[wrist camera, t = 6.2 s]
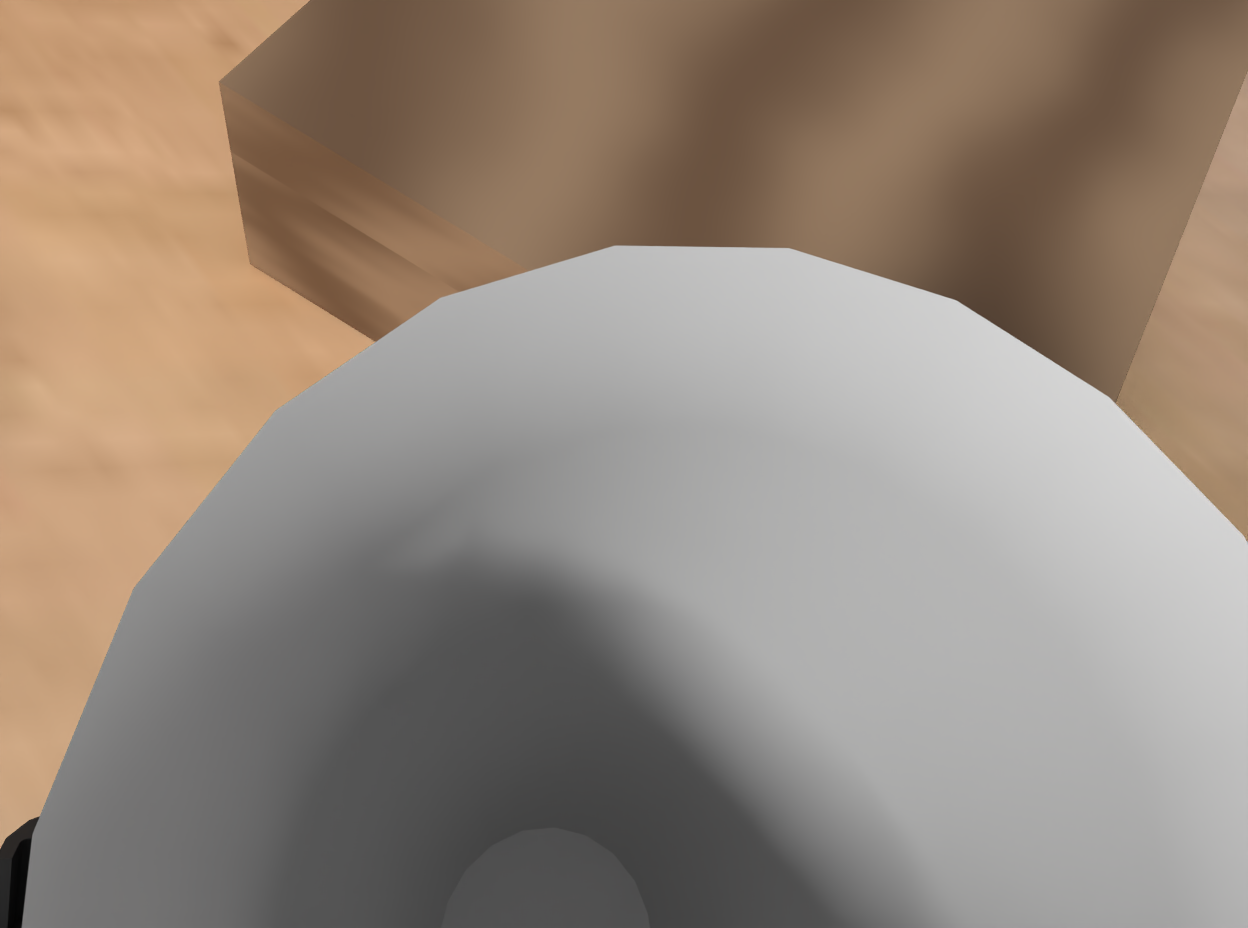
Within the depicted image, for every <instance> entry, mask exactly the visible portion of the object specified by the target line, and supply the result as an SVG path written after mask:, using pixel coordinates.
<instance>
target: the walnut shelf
mask: <svg viewBox="0 0 1248 928" xmlns="http://www.w3.org/2000/svg"><path fill="white" fill-rule="evenodd" d="M1247 71H1248V0H310V1H309V2H308V3H307V4H306V5H304V6H303V7H302V8H301V9H300V10H299V11H298V12H297V13H295V14H294V15H293V16H292V17H291V18H290V19H289V20H288V21H287V22H285V23H284V24H283V25H282V26H281V27H280V28H279V29H278V30H276V31H275V32H274V33H273V34H272V35H271V36H270V37H269V38H267V39H266V40H265V41H264V42H263V43H262V44H261V45H260V46H258V47H257V48H256V49H255V50H254V51H253V52H252V53H251V54H250V55H248V56H247V57H246V58H245V59H244V60H243V61H242V62H241V63H239V64H238V65H237V66H236V67H235V68H234V69H233V70H232V71H230V72H229V73H228V74H227V75H226V76H225V77H224V78H223V79H221V80H220V81H219V85H220V91H221V97H222V103H223V109H224V115H225V120H226V126H227V132H228V138H229V144H230V150H231V155H232V161H233V167H234V173H235V179H236V185H237V191H238V196H239V202H240V208H241V214H242V220H243V226H244V231H245V237H246V243H247V249H248V255H249V261H250V264H251V265H253V266H254V267H256V268H258V269H259V270H261V271H262V272H264V273H266V274H267V275H269V276H271V277H272V278H274V279H275V280H277V281H279V282H280V283H282V284H283V285H285V286H287V287H288V288H290V289H292V290H293V291H295V292H296V293H298V294H300V295H301V296H303V297H304V298H306V299H308V300H309V301H311V302H313V303H314V304H316V305H317V306H319V307H321V308H322V309H324V310H325V311H327V312H329V313H330V314H332V315H334V316H335V317H337V318H338V319H340V320H342V321H343V322H345V323H346V324H348V325H350V326H351V327H353V328H355V329H356V330H358V331H359V332H361V333H363V334H364V335H366V336H367V337H369V338H371V339H372V340H374V341H376V342H377V341H378V340H379V339H381V338H382V337H384V336H385V335H387V334H388V333H390V332H391V331H393V330H394V329H396V328H397V327H398V326H400V325H401V324H403V323H404V322H406V321H407V320H409V319H410V318H412V317H413V316H415V315H416V314H418V313H419V312H420V311H422V310H423V309H425V308H426V307H428V306H429V305H431V304H432V303H434V302H435V301H437V300H438V299H439V298H441V297H445V296H448V295H451V294H455V293H458V292H461V291H465V290H468V289H471V288H475V287H478V286H482V285H485V284H488V283H492V282H495V281H498V280H502V279H505V278H508V277H512V276H515V275H518V274H522V273H525V272H528V271H532V270H535V269H538V268H542V267H545V266H548V265H552V264H555V263H558V262H562V261H565V260H568V259H572V258H575V257H578V256H582V255H585V254H588V253H592V252H595V251H598V250H602V249H605V248H608V247H612V246H678V247H745V248H790V249H794V250H797V251H800V252H803V253H806V254H810V255H813V256H816V257H819V258H822V259H826V260H829V261H832V262H835V263H838V264H842V265H845V266H848V267H851V268H854V269H858V270H861V271H864V272H867V273H870V274H874V275H877V276H880V277H883V278H886V279H890V280H893V281H896V282H899V283H902V284H906V285H909V286H912V287H915V288H918V289H922V290H925V291H928V292H931V293H934V294H938V295H941V296H944V297H947V298H950V299H954V300H956V301H958V302H960V303H961V304H963V305H964V306H966V307H967V308H969V309H971V310H972V311H974V312H975V313H977V314H979V315H980V316H982V317H983V318H985V319H986V320H988V321H990V322H991V323H993V324H994V325H996V326H997V327H999V328H1001V329H1002V330H1004V331H1005V332H1007V333H1009V334H1010V335H1012V336H1013V337H1015V338H1016V339H1018V340H1020V341H1021V342H1023V343H1024V344H1026V345H1027V346H1029V347H1031V348H1032V349H1034V350H1035V351H1037V352H1039V353H1040V354H1042V355H1043V356H1045V357H1046V358H1048V359H1050V360H1051V361H1053V362H1054V363H1056V364H1057V365H1059V366H1061V367H1062V368H1064V369H1065V370H1067V371H1069V372H1070V373H1072V374H1073V375H1075V376H1076V377H1078V378H1080V379H1081V380H1083V381H1084V382H1086V383H1087V384H1089V385H1091V386H1092V387H1094V388H1095V389H1097V390H1099V391H1100V392H1102V393H1103V394H1105V395H1106V396H1108V397H1109V398H1110V399H1111V400H1112V401H1113V402H1114V403H1116V400H1117V398H1118V395H1119V393H1120V390H1121V387H1122V385H1123V382H1124V380H1125V377H1126V375H1127V372H1128V370H1129V367H1130V365H1131V362H1132V360H1133V357H1134V355H1135V352H1136V350H1137V347H1138V345H1139V342H1140V340H1141V337H1142V335H1143V332H1144V330H1145V327H1146V325H1147V322H1148V320H1149V317H1150V315H1151V312H1152V310H1153V307H1154V305H1155V302H1156V300H1157V297H1158V295H1159V292H1160V290H1161V287H1162V285H1163V282H1164V280H1165V277H1166V275H1167V272H1168V270H1169V267H1170V265H1171V262H1172V260H1173V257H1174V255H1175V252H1176V249H1177V247H1178V244H1179V242H1180V239H1181V237H1182V234H1183V232H1184V229H1185V227H1186V224H1187V222H1188V219H1189V217H1190V214H1191V212H1192V209H1193V207H1194V204H1195V202H1196V199H1197V197H1198V194H1199V192H1200V189H1201V187H1202V184H1203V182H1204V179H1205V177H1206V174H1207V172H1208V169H1209V167H1210V164H1211V162H1212V159H1213V157H1214V154H1215V152H1216V149H1217V147H1218V144H1219V142H1220V139H1221V137H1222V134H1223V132H1224V129H1225V127H1226V124H1227V122H1228V119H1229V117H1230V114H1231V111H1232V109H1233V106H1234V104H1235V101H1236V99H1237V96H1238V94H1239V91H1240V89H1241V86H1242V84H1243V81H1244V79H1245V76H1246V74H1247Z"/></svg>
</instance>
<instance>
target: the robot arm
mask: <svg viewBox="0 0 1248 928" xmlns="http://www.w3.org/2000/svg"><path fill="white" fill-rule="evenodd" d="M39 817H40V816H39ZM39 817H36V818H34V819H31V820H29V821H28V822H26V823H25V824H24V825H22V826H21V827H20V828H19V829H17V830H16V831H15V832H13V833H12V834H11V835H9V836H8V837H7V838H6V839H5V841H4V843H3V845H2V847H1V849H0V928H22V921H23V912H24V903H25V895H26V886H27V877H28V869H29V860H30V851H31V843H32V834H33V832H34V829H35V827H36V824H37V822H38V820H39Z"/></svg>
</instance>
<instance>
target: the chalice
mask: <svg viewBox="0 0 1248 928" xmlns="http://www.w3.org/2000/svg"><path fill="white" fill-rule="evenodd" d="M22 928H1248V542H1247V541H1246V539H1245V537H1244V536H1243V535H1242V534H1241V533H1240V532H1239V531H1238V530H1237V529H1236V527H1235V526H1234V525H1233V524H1232V523H1231V522H1230V521H1229V520H1228V519H1227V518H1226V517H1225V516H1224V515H1223V514H1222V513H1221V512H1220V511H1219V510H1218V509H1217V508H1216V507H1215V506H1214V505H1213V504H1212V503H1211V502H1210V501H1209V500H1208V499H1207V498H1206V497H1205V496H1204V494H1203V493H1202V492H1201V491H1200V490H1199V489H1198V488H1197V487H1196V486H1195V485H1194V484H1193V483H1192V482H1191V481H1190V480H1189V479H1188V478H1187V477H1186V476H1185V475H1184V474H1183V473H1182V472H1181V471H1180V470H1179V469H1178V468H1177V467H1176V466H1175V465H1174V464H1173V463H1172V462H1171V460H1170V459H1169V458H1168V457H1167V456H1166V455H1165V454H1164V453H1163V452H1162V451H1161V450H1160V449H1159V448H1158V447H1157V446H1156V445H1155V444H1154V443H1153V442H1152V441H1151V440H1150V439H1149V438H1148V437H1147V436H1146V435H1145V434H1144V433H1143V432H1142V431H1141V430H1140V429H1139V427H1138V426H1137V425H1136V424H1135V423H1134V422H1133V421H1132V420H1131V419H1130V418H1129V417H1128V416H1127V415H1126V414H1125V413H1124V412H1123V411H1122V410H1121V409H1120V408H1119V407H1118V406H1117V405H1116V404H1115V403H1114V402H1113V401H1112V400H1111V399H1110V398H1109V397H1108V396H1106V395H1105V394H1103V393H1102V392H1100V391H1099V390H1097V389H1095V388H1094V387H1092V386H1091V385H1089V384H1087V383H1086V382H1084V381H1083V380H1081V379H1080V378H1078V377H1076V376H1075V375H1073V374H1072V373H1070V372H1069V371H1067V370H1065V369H1064V368H1062V367H1061V366H1059V365H1057V364H1056V363H1054V362H1053V361H1051V360H1050V359H1048V358H1046V357H1045V356H1043V355H1042V354H1040V353H1039V352H1037V351H1035V350H1034V349H1032V348H1031V347H1029V346H1027V345H1026V344H1024V343H1023V342H1021V341H1020V340H1018V339H1016V338H1015V337H1013V336H1012V335H1010V334H1009V333H1007V332H1005V331H1004V330H1002V329H1001V328H999V327H997V326H996V325H994V324H993V323H991V322H990V321H988V320H986V319H985V318H983V317H982V316H980V315H979V314H977V313H975V312H974V311H972V310H971V309H969V308H967V307H966V306H964V305H963V304H961V303H960V302H958V301H956V300H954V299H950V298H947V297H944V296H941V295H938V294H934V293H931V292H928V291H925V290H922V289H918V288H915V287H912V286H909V285H906V284H902V283H899V282H896V281H893V280H890V279H886V278H883V277H880V276H877V275H874V274H870V273H867V272H864V271H861V270H858V269H854V268H851V267H848V266H845V265H842V264H838V263H835V262H832V261H829V260H826V259H822V258H819V257H816V256H813V255H810V254H806V253H803V252H800V251H797V250H794V249H790V248H745V247H678V246H612V247H608V248H605V249H602V250H598V251H595V252H592V253H588V254H585V255H582V256H578V257H575V258H572V259H568V260H565V261H562V262H558V263H555V264H552V265H548V266H545V267H542V268H538V269H535V270H532V271H528V272H525V273H522V274H518V275H515V276H512V277H508V278H505V279H502V280H498V281H495V282H492V283H488V284H485V285H482V286H478V287H475V288H471V289H468V290H465V291H461V292H458V293H455V294H451V295H448V296H445V297H441V298H439V299H438V300H437V301H435V302H434V303H432V304H431V305H429V306H428V307H426V308H425V309H423V310H422V311H420V312H419V313H418V314H416V315H415V316H413V317H412V318H410V319H409V320H407V321H406V322H404V323H403V324H401V325H400V326H398V327H397V328H396V329H394V330H393V331H391V332H390V333H388V334H387V335H385V336H384V337H382V338H381V339H379V340H378V341H377V342H375V343H374V344H372V345H371V346H369V347H368V348H366V349H365V350H363V351H362V352H360V353H359V354H358V355H356V356H355V357H353V358H352V359H350V360H349V361H347V362H346V363H344V364H343V365H341V366H340V367H339V368H337V369H336V370H334V371H333V372H331V373H330V374H328V375H327V376H325V377H324V378H322V379H321V380H320V381H318V382H317V383H315V384H314V385H312V386H311V387H309V388H308V389H306V390H305V391H303V392H302V393H300V394H299V395H298V396H296V397H295V398H293V399H292V400H290V401H289V402H287V403H286V404H284V405H283V406H281V407H280V408H279V409H277V410H276V411H275V412H274V413H273V414H272V416H271V417H270V418H269V419H268V421H267V422H266V423H265V425H264V426H263V427H262V428H261V430H260V431H259V432H258V433H257V435H256V436H255V437H254V438H253V440H252V441H251V442H250V443H249V445H248V446H247V447H246V448H245V450H244V451H243V452H242V453H241V455H240V456H239V457H238V458H237V460H236V461H235V462H234V463H233V465H232V466H231V467H230V468H229V470H228V471H227V472H226V473H225V475H224V476H223V477H222V478H221V480H220V481H219V482H218V483H217V485H216V486H215V487H214V488H213V490H212V491H211V492H210V493H209V495H208V496H207V497H206V498H205V500H204V501H203V502H202V503H201V505H200V506H199V507H198V508H197V510H196V511H195V512H194V514H193V515H192V516H191V517H190V519H189V520H188V521H187V522H186V524H185V525H184V526H183V527H182V529H181V530H180V531H179V532H178V534H177V535H176V536H175V537H174V539H173V540H172V541H171V542H170V544H169V545H168V546H167V547H166V549H165V550H164V551H163V552H162V554H161V555H160V556H159V557H158V559H157V560H156V561H155V562H154V564H153V565H152V566H151V567H150V569H149V570H148V571H147V572H146V574H145V575H144V576H143V577H142V579H141V580H140V581H139V582H138V584H137V585H136V586H135V587H134V589H133V591H132V594H131V596H130V599H129V601H128V603H127V606H126V608H125V611H124V613H123V616H122V618H121V620H120V623H119V625H118V628H117V630H116V633H115V635H114V637H113V640H112V642H111V645H110V647H109V650H108V652H107V654H106V657H105V659H104V662H103V664H102V667H101V669H100V671H99V674H98V676H97V679H96V681H95V684H94V686H93V688H92V691H91V693H90V696H89V698H88V701H87V703H86V705H85V708H84V710H83V713H82V715H81V718H80V720H79V722H78V725H77V727H76V730H75V732H74V735H73V737H72V739H71V742H70V744H69V747H68V749H67V752H66V754H65V756H64V759H63V761H62V764H61V766H60V769H59V771H58V773H57V776H56V778H55V781H54V783H53V786H52V788H51V790H50V793H49V795H48V798H47V800H46V803H45V805H44V807H43V810H42V812H41V815H40V817H39V820H38V822H37V824H36V827H35V829H34V832H33V834H32V843H31V851H30V860H29V869H28V877H27V886H26V895H25V903H24V912H23V921H22Z"/></svg>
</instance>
